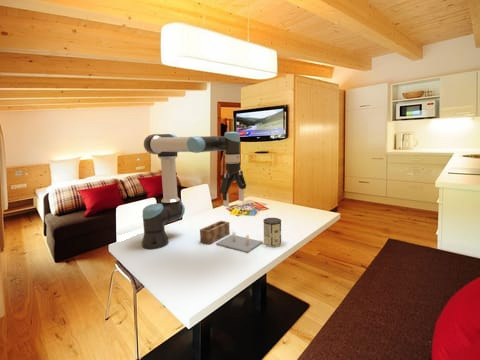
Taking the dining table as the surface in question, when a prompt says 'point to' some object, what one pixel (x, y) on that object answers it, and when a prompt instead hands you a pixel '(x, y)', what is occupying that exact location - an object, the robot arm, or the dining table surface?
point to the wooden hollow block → (214, 232)
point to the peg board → (239, 243)
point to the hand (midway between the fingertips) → (234, 203)
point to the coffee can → (272, 232)
